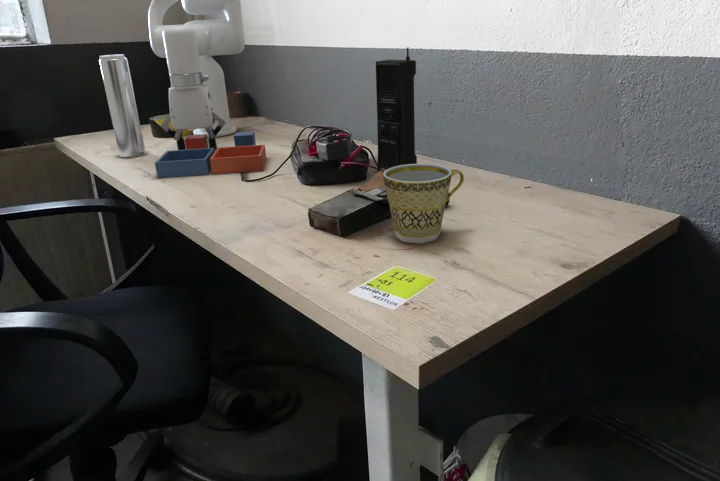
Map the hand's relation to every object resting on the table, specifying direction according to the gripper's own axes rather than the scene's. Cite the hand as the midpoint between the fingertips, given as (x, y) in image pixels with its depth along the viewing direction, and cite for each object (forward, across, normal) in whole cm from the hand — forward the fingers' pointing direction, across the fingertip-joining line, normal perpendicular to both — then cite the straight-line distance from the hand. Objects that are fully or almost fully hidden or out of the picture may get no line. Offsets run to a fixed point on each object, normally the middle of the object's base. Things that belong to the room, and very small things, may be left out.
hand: (198, 153), depth 143 cm
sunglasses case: (+1, -44, +46) cm, 64 cm away
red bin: (+1, -12, +13) cm, 18 cm away
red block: (+1, 0, 0) cm, 1 cm away
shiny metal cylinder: (+1, +18, -7) cm, 20 cm away
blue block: (+1, -12, 0) cm, 12 cm away
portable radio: (+1, -46, +26) cm, 53 cm away
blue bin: (+1, 0, +13) cm, 13 cm away
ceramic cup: (+1, -46, +63) cm, 78 cm away
